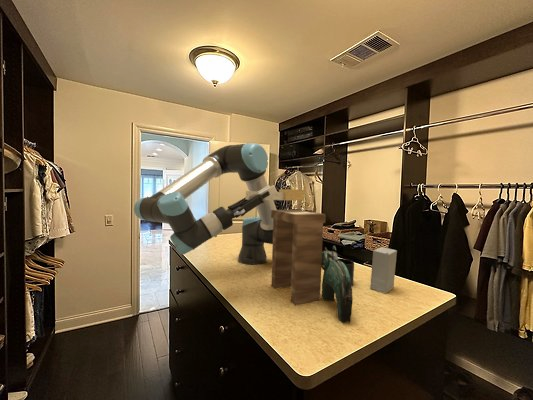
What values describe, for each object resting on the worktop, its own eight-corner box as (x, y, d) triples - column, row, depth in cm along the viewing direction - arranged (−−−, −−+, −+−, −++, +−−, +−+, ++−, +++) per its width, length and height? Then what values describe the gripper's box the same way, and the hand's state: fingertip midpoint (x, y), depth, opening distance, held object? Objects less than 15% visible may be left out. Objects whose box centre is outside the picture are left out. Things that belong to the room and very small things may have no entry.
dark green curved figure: (317, 295, 92) (319, 240, 91) (334, 295, 93) (337, 241, 92) (336, 324, 72) (339, 254, 72) (358, 323, 73) (361, 255, 72)
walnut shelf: (269, 286, 99) (271, 209, 98) (295, 282, 104) (297, 209, 103) (292, 306, 83) (295, 214, 82) (322, 300, 88) (325, 213, 87)
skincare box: (377, 284, 105) (379, 246, 105) (396, 289, 100) (398, 249, 100) (369, 289, 99) (370, 249, 99) (388, 294, 94) (390, 252, 94)
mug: (320, 282, 105) (321, 261, 105) (338, 277, 112) (339, 257, 112) (340, 290, 97) (341, 267, 97) (357, 283, 105) (358, 262, 104)
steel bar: (244, 199, 91) (244, 188, 91) (296, 199, 101) (297, 189, 100) (249, 199, 87) (249, 188, 87) (303, 200, 96) (304, 189, 96)
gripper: (217, 227, 93) (268, 196, 101) (229, 234, 79) (287, 198, 87) (207, 209, 91) (259, 179, 100) (218, 214, 77) (278, 178, 85)
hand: (272, 188), depth 93 cm, fingers closed on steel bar, 3 cm apart
